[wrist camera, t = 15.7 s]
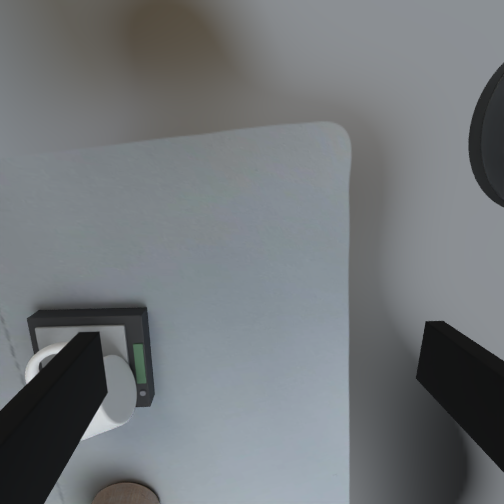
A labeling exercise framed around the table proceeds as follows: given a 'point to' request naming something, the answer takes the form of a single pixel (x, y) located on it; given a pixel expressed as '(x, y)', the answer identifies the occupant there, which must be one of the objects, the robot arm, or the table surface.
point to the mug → (118, 384)
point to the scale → (102, 338)
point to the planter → (125, 494)
